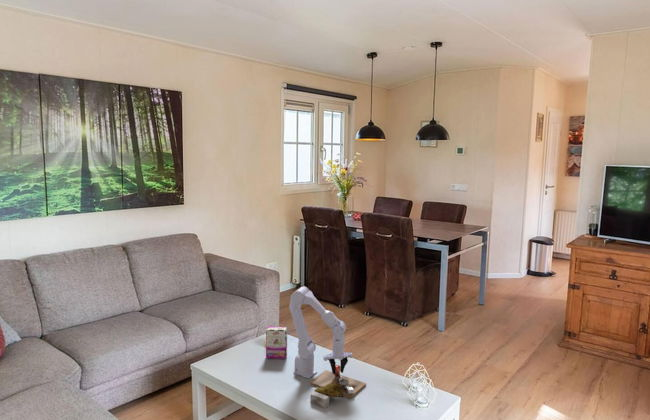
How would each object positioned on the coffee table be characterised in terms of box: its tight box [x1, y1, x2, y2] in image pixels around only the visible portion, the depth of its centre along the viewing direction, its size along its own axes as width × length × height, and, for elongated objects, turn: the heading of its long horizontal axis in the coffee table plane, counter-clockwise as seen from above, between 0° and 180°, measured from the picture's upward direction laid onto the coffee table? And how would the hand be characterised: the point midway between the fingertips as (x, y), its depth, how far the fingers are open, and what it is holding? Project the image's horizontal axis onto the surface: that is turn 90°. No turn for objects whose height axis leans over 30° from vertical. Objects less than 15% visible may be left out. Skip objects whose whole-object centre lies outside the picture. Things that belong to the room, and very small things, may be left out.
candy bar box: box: [265, 326, 288, 360], centre depth 250 cm, size 11×5×16 cm, turn 88°
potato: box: [314, 382, 343, 399], centre depth 210 cm, size 8×13×8 cm, turn 61°
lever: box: [334, 364, 354, 394], centre depth 220 cm, size 19×4×5 cm, turn 21°
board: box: [308, 370, 367, 409], centre depth 217 cm, size 23×28×4 cm
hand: (337, 372), depth 228 cm, fingers open, 4 cm apart
